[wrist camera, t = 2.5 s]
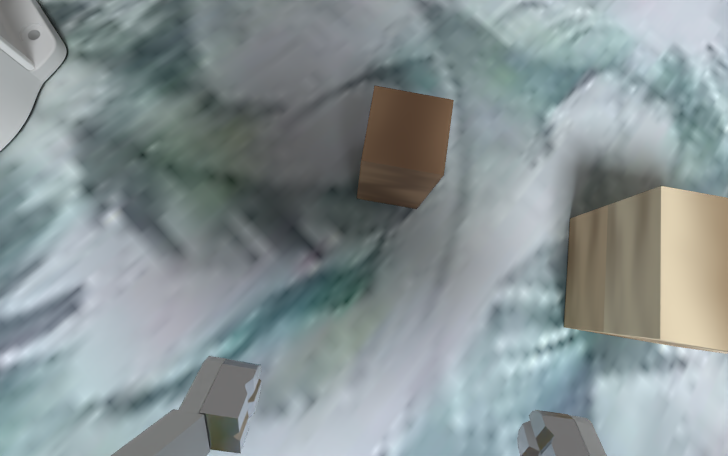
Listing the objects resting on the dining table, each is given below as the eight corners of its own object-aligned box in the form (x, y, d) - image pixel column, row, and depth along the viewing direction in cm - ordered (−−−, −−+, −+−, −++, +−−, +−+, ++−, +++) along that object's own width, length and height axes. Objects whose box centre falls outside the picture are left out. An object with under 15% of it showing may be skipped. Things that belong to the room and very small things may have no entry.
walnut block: (356, 198, 27) (361, 160, 19) (366, 142, 28) (374, 85, 20) (416, 209, 27) (443, 175, 19) (424, 152, 28) (453, 100, 20)
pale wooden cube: (564, 327, 26) (660, 339, 18) (570, 218, 27) (661, 185, 19) (673, 346, 26) (817, 366, 18) (673, 236, 27) (805, 212, 20)
